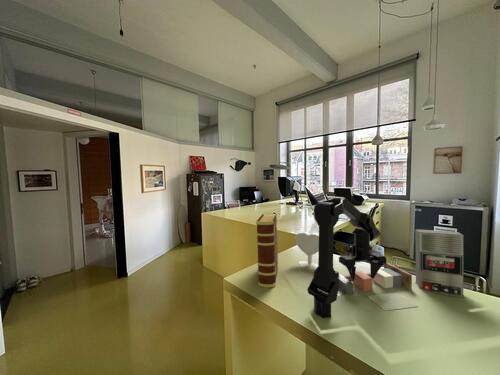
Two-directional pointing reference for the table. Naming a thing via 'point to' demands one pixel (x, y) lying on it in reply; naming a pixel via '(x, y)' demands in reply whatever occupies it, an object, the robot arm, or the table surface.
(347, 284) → the bookend
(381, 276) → the cream rectangular block
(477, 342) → the table surface
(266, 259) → the decorative book
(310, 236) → the heart sculpture
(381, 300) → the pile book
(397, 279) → the book
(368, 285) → the salmon pink box
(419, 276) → the cassette tape recorder
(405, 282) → the shelf
